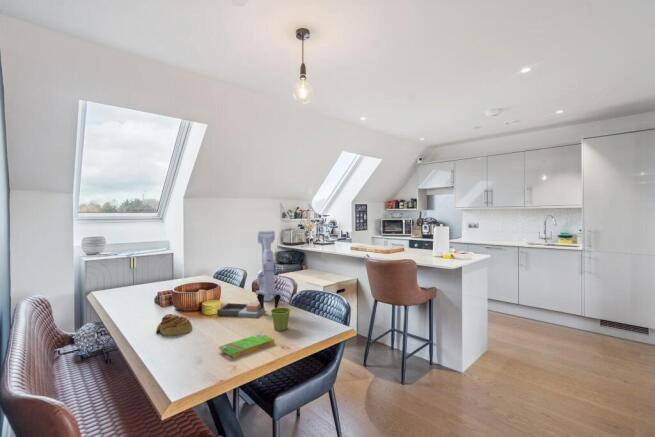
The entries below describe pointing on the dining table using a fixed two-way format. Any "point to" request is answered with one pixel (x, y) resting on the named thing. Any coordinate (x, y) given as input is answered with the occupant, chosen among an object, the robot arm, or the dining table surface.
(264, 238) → the robot arm
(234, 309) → the box
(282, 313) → the plant pot
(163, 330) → the pastry
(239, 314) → the slate plate
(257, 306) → the block
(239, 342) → the game box
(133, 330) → the dining table surface
